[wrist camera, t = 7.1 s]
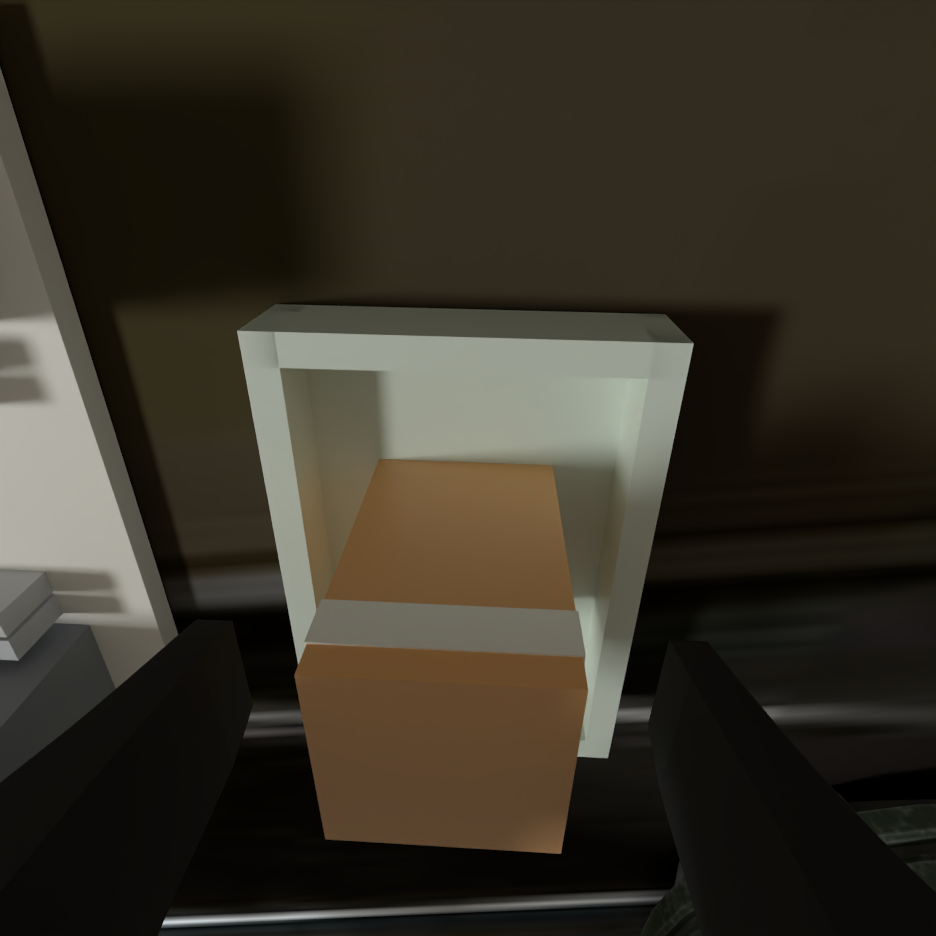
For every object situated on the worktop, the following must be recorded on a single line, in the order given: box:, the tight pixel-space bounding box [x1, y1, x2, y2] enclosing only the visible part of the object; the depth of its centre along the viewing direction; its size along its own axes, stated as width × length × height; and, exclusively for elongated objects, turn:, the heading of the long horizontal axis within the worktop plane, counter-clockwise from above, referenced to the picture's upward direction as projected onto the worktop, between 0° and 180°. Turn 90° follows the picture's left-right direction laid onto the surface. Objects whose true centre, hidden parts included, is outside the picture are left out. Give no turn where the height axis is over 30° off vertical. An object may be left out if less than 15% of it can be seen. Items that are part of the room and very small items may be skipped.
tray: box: [237, 304, 694, 758], centre depth 12 cm, size 10×7×2 cm
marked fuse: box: [294, 459, 588, 854], centre depth 10 cm, size 4×4×6 cm
